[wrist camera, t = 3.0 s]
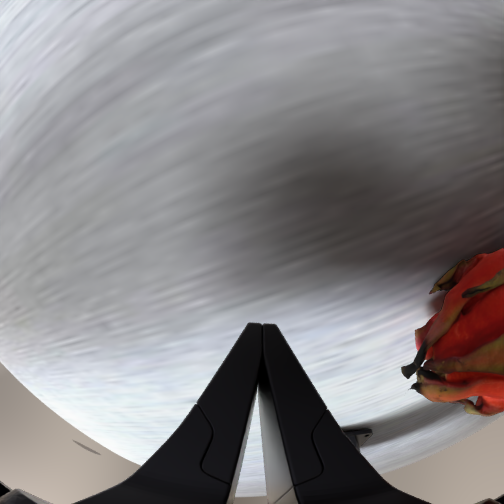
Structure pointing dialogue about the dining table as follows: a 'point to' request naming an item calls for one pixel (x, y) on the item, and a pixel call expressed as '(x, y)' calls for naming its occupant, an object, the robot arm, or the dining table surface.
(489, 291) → the dragon fruit
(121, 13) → the dining table surface
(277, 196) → the dining table surface
